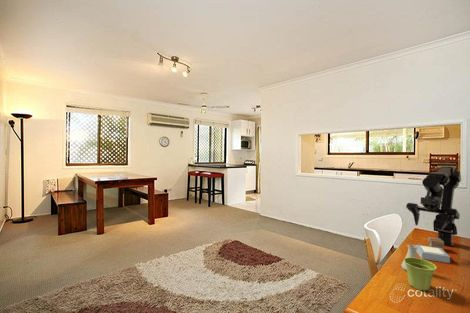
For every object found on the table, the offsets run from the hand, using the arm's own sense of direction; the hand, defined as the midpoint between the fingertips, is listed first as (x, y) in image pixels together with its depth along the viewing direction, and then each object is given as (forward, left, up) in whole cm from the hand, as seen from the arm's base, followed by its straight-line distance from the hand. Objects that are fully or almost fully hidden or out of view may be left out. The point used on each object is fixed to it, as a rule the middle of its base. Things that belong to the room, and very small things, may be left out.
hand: (428, 227), depth 108 cm
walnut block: (-15, +8, -15) cm, 23 cm away
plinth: (-3, +3, -14) cm, 15 cm away
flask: (+16, -9, -15) cm, 23 cm away
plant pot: (+30, -10, -15) cm, 35 cm away
